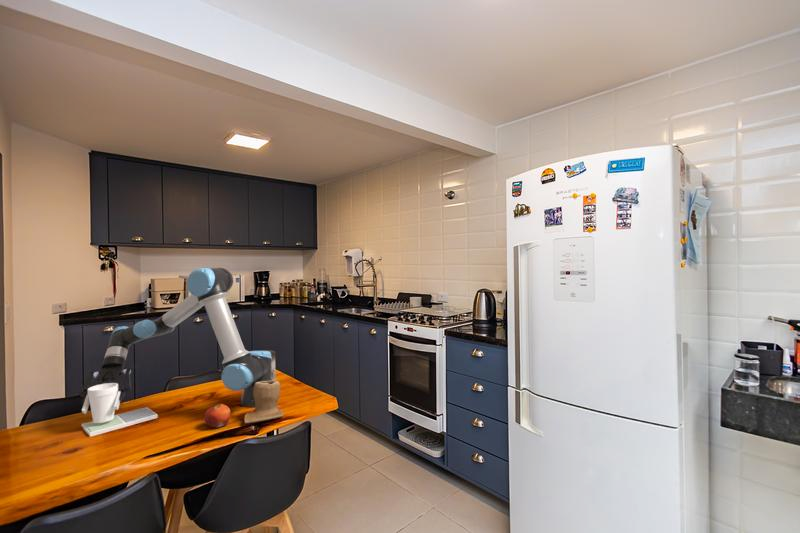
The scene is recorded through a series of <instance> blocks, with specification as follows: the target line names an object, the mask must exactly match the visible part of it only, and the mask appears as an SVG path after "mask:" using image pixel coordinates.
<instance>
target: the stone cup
mask: <svg viewBox="0 0 800 533" xmlns="http://www.w3.org/2000/svg"><path fill="white" fill-rule="evenodd" d="M280 394H281V383H280V382H279V381H278V380H275V381H261V382H256V383H255V385H254V389H253V395H254V400H255V407H254V410H253V411H250V412H247V413H245V415H244V419H243V420H244V424H252V423H253V424H254V423H258V422H259V423H260V422H264V421H269V420H274V419H278V418H281V417H283V416H284V411H283V410H282V409H281V408H278V401H279V398H280Z"/></svg>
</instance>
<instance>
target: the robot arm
mask: <svg viewBox="0 0 800 533" xmlns="http://www.w3.org/2000/svg"><path fill="white" fill-rule="evenodd" d="M233 284H234V276H233V275H232V273H231V271H229V270H228V269H226V268H223V267H202V268H201V267H199V268H197V269H194V270H193V271H191V273H189V275H188V277H187V280H186V288H187V291H188V292H189V294H190V295H189V296H186V297H185V298H184V299H183V300H182V301H181V302H179V303H177V305H175V306H174V307H172V308H171V309H170V310H168V311H166V313H163V315H161V316H160V317H158V318H157V319H153V320H150V319H144V320H143V319H142V320H141V321H137V323H135V324H132V325H131V326H127V325H122V326H117V327H115V328H114V329H113V330H112V333H111V335H110V337H109V341H108V346H107V350H106V352H105V355H104V357H103V358H104V359H103V361H102V364H101V368H100V369H99V371H93V370H92V371H90V373H89V377H88V378H87V379H86V381H85V382H84V383H83V385H82V387H81V388H80V390H79V391H78V395H79V396H80V397H81V398H82V399H81V404H82V408H81V412H82V413H83V414H84V415H86V414H87V412H88V410H89V406H90V402H89V396H88V388H90V387H92V386H96V385H100V384H105V382H109V381H116V383H117V384H118V389H119V390H118V391H117V397H116V401H115V405H114V408H115V411H116V410H117V411H119V408H120V403H121V401H123V400H124V399H125V395H126V393H127V392H131V391H132V383H131V375H132V370H131V368H130V367H128V368H126V369H124V368H125V363H126V361H127V356H128V353H129V349H130V347H131V346H132V345H134V344H136V343H138V342H140V341H143V340H147V339H150V338H154V337H159V336H162V335H163V336H164V335H167V334H169V333H172V332H173V331H174V330H175V328H176V326H178V325H179V324H181V323H183V321H185V320H186V319H189V317H190V316H192V315H193V314H195V313H196V312H197V311H198V310H200V309H202V307H204V309H205V311H206V314H207V317H208V319H209V322H210V324H211V328H212V329H213V331H214V334H215V337H216V340H217V342H218V343H217V344H219V347H220V350H221V353H222V355H223V360H222V362H221V365H222V367H223V370H222V373H221V382H222V383H223V385H224V387H226V388H227V389H229V390H231V391H233V392H239V391H242V394H241V397H240V404H241V406H243V407H247V408H248V407H249V408H252V407H253V408H255V400H254V395H253V389H254V385H255V383H256V382H261V381H272V368H271V360H272V358H271V353H270V352H269V350H251V351H249V350H247V349H246V348H245V346H244V344H243V341H242V339H241V336H240V333H239V329H238V327H237V325H236V322H235V320H234V317H233V315H232V312H231V309H230V306H229V303H228V301H227V296H228V295H229V294H228V292H229V291H230V290H231V289H232V287H233V286H234V285H233ZM123 374H124V375H125V376H124V378H125V386H126V387H124V385H123V382H122V380H121V379H120V376H122V375H123ZM95 379H96V380H95Z"/></svg>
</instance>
